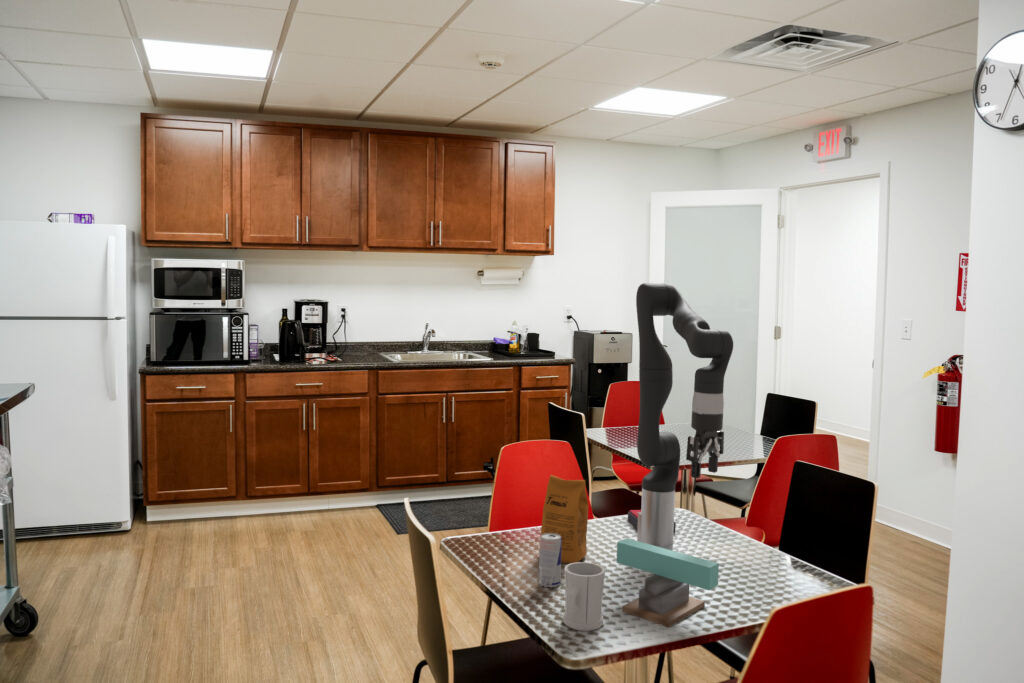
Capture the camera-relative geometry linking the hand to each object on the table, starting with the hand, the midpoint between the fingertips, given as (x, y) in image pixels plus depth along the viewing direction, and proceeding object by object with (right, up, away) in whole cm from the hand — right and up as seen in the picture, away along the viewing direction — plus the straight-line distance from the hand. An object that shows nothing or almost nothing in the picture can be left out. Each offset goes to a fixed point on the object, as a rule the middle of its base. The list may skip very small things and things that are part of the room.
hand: (704, 474), depth 191 cm
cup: (-32, -28, -25) cm, 50 cm away
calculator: (-4, -25, +49) cm, 55 cm away
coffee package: (-34, -26, +18) cm, 46 cm away
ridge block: (-13, -28, -15) cm, 34 cm away
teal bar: (-13, -20, -16) cm, 28 cm away
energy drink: (-39, -27, -2) cm, 47 cm away
